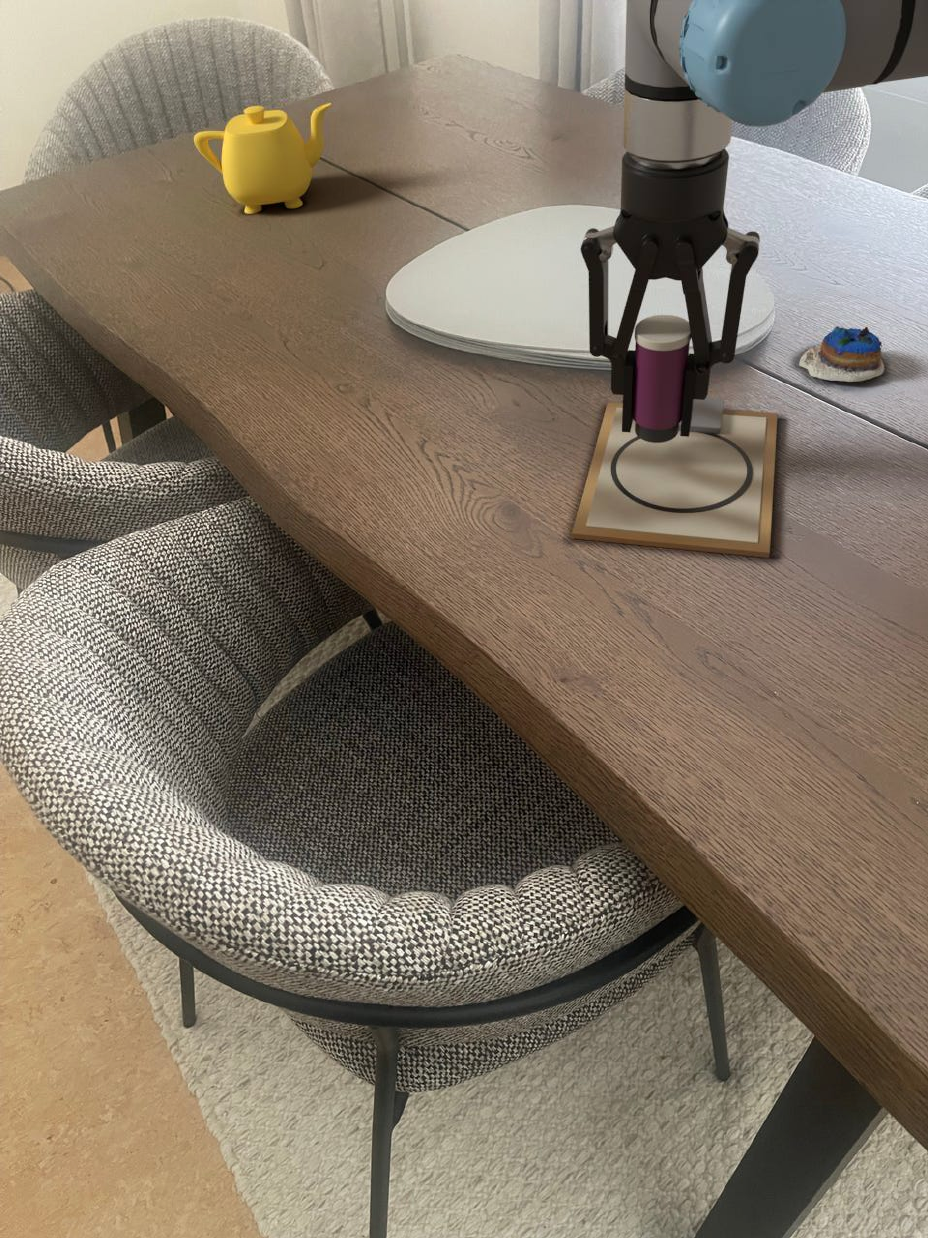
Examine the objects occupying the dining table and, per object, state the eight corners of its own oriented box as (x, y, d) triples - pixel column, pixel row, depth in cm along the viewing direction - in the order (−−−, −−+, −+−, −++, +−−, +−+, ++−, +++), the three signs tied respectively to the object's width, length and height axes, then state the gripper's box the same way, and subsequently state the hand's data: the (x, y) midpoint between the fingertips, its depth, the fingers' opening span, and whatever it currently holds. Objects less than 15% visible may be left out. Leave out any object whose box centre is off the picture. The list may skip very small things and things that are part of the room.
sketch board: (768, 558, 75) (771, 545, 74) (572, 538, 79) (571, 525, 78) (777, 414, 89) (779, 401, 88) (608, 403, 93) (609, 390, 92)
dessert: (905, 355, 92) (893, 323, 88) (867, 412, 93) (853, 383, 88) (833, 334, 97) (818, 303, 93) (798, 389, 98) (781, 360, 93)
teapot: (346, 207, 133) (330, 113, 125) (208, 225, 133) (181, 132, 125) (346, 173, 143) (331, 83, 134) (216, 189, 143) (192, 101, 134)
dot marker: (680, 447, 82) (689, 343, 74) (627, 443, 83) (631, 341, 76) (685, 418, 85) (694, 315, 77) (634, 414, 86) (638, 313, 79)
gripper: (804, 129, 67) (760, 408, 84) (564, 130, 71) (567, 395, 88) (803, 170, 62) (756, 458, 79) (544, 168, 66) (552, 442, 83)
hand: (656, 424), depth 83 cm, fingers closed on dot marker, 4 cm apart
